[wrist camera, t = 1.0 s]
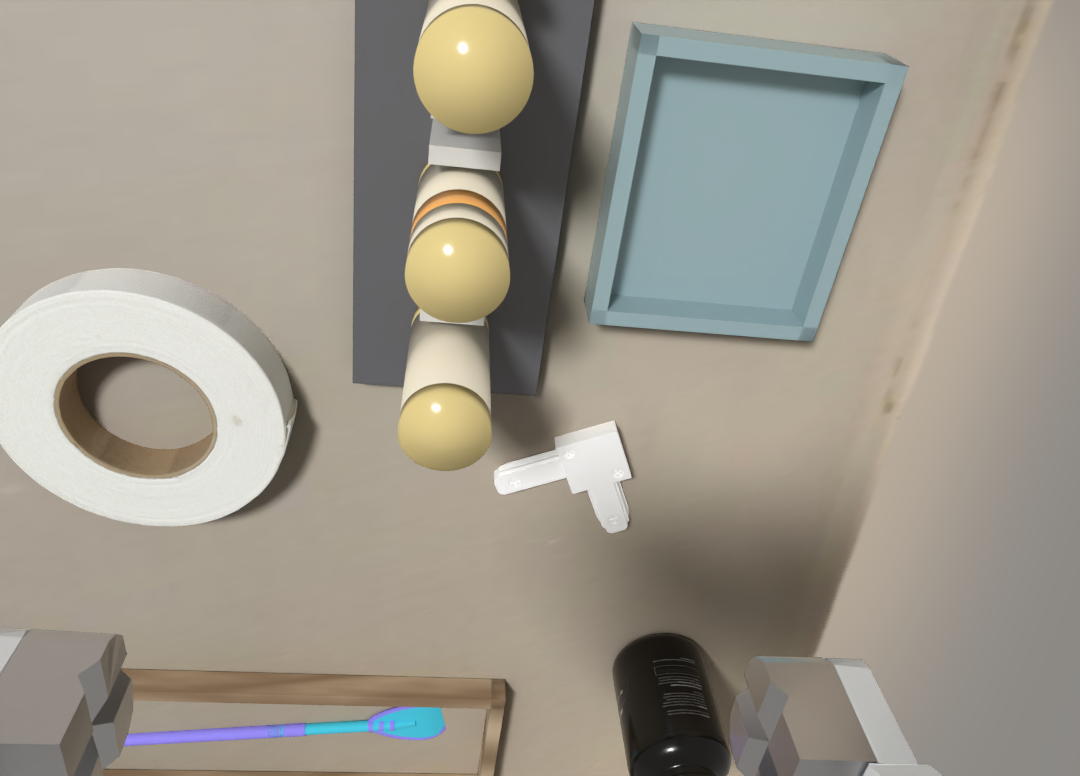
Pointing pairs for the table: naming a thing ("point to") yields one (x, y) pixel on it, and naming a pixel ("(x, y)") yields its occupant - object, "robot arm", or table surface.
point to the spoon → (314, 728)
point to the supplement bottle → (669, 709)
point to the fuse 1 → (473, 64)
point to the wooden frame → (322, 702)
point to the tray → (734, 181)
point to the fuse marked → (458, 244)
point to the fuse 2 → (446, 395)
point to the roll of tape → (163, 338)
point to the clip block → (514, 150)
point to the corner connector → (578, 471)
